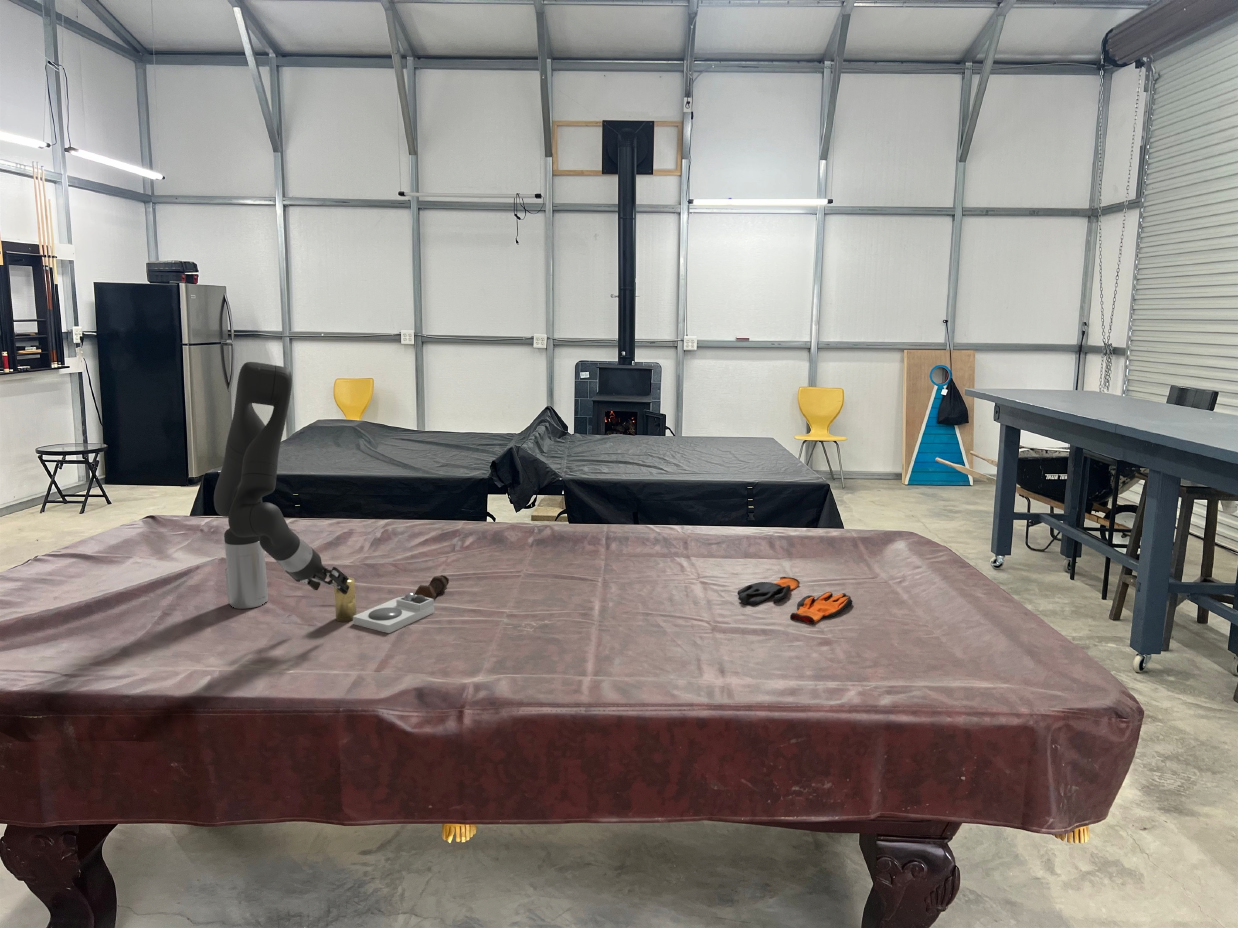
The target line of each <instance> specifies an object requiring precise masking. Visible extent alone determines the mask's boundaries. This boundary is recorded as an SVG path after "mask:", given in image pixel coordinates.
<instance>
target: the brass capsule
mask: <svg viewBox="0 0 1238 928" xmlns="http://www.w3.org/2000/svg"><path fill="white" fill-rule="evenodd" d="M347 577H348V578H349V579H348V582H347V585H348V586H349V587H350V588H349V590H348V593H347V594H343V593H341V592H340V591H339V590H338V589H337V588H336V587H334V586H333V592H334V595H333V597H334V609H335V610H334V611H335V621H337V622H341V623H345V622H348V623H349V622H353V616H355V615H357V614H358V613H357V595H356V582H355V580H356V579H355V578H354V577H350V576H347ZM333 582H334V581H333ZM334 583H335V582H334Z"/></svg>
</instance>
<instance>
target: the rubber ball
mask: <svg viewBox="0 0 1238 928" xmlns="http://www.w3.org/2000/svg"><path fill="white" fill-rule="evenodd" d="M425 601H426V598H425V597H424V596H423V595H417V596H416V597H415V598H414V603H418V604H420V603H423V602H425Z"/></svg>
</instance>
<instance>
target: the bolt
mask: <svg viewBox="0 0 1238 928" xmlns="http://www.w3.org/2000/svg"><path fill="white" fill-rule="evenodd" d="M449 583H450V579H449V577H447V576H446V575H443V574H441V575H435V576H433V577H432V578H431V581H430V582H429V584H427V585H424V584H423V585H422V584H420V585H419V586H418V587H417V589H416V590H415V592H414V593H413V594H414V595H423V596H424V597H427V598H431V599H433V601H435V599H436V597H437V594H442V593H444V592H445V590H446V589H447V587H448V585H449Z"/></svg>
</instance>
